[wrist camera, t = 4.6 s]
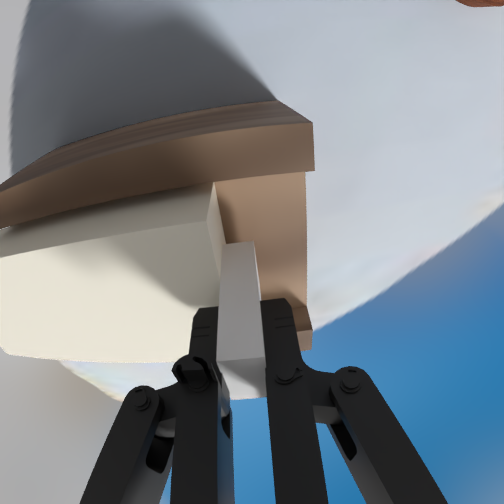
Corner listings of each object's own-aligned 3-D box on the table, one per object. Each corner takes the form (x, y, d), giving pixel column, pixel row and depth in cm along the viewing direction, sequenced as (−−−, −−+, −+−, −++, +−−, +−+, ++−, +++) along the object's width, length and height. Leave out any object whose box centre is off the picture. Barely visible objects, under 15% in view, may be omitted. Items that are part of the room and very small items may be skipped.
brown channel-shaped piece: (54, 149, 19) (-25, 203, 11) (278, 100, 18) (312, 122, 10) (104, 279, 26) (68, 360, 18) (289, 258, 26) (311, 349, 18)
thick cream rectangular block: (-22, 236, 14) (-52, 270, 11) (213, 180, 13) (206, 221, 10) (26, 318, 18) (6, 354, 15) (238, 304, 18) (239, 357, 15)
